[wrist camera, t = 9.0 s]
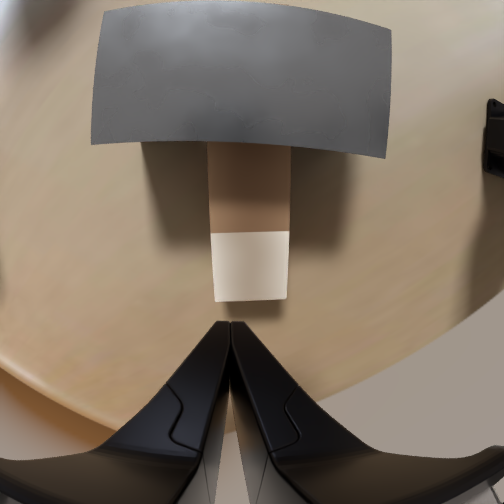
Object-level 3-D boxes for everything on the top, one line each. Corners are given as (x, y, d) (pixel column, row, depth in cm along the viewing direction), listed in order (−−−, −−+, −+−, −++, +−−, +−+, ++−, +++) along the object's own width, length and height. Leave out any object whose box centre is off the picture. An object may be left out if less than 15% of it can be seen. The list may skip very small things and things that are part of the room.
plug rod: (277, 28, 15) (288, 5, 11) (276, 268, 21) (286, 298, 17) (211, 28, 14) (207, 4, 11) (217, 270, 20) (215, 301, 17)
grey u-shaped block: (339, 60, 15) (391, 29, 9) (333, 148, 18) (385, 158, 11) (146, 49, 14) (104, 11, 8) (140, 139, 17) (91, 144, 10)
